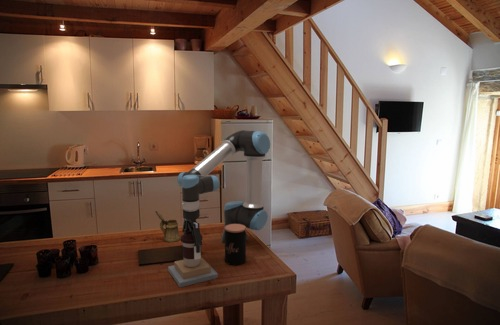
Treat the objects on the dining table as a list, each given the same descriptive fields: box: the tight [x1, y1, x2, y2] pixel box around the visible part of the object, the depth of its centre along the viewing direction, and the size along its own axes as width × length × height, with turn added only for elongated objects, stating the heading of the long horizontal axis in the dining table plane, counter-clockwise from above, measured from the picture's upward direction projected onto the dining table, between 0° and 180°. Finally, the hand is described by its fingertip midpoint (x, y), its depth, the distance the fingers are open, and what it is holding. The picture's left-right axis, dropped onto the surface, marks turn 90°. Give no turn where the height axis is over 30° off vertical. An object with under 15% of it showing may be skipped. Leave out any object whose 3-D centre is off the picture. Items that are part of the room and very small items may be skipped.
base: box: [167, 256, 219, 288], centre depth 162 cm, size 18×18×5 cm
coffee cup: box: [180, 231, 203, 267], centre depth 161 cm, size 10×10×15 cm
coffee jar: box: [224, 224, 247, 266], centre depth 176 cm, size 11×11×18 cm
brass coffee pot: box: [155, 210, 181, 243], centre depth 203 cm, size 9×14×18 cm, turn 103°
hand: (192, 253), depth 161 cm, fingers open, 13 cm apart
